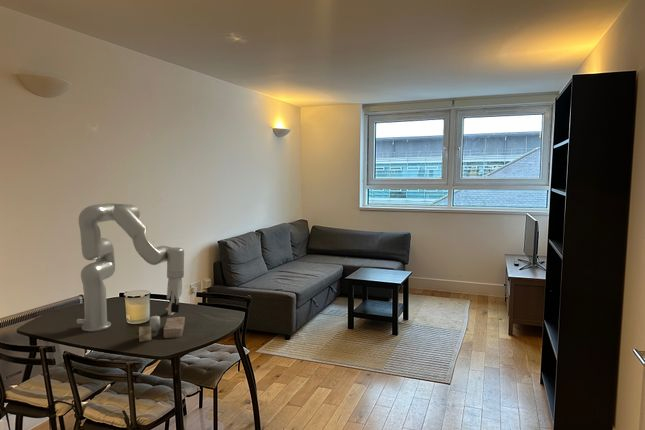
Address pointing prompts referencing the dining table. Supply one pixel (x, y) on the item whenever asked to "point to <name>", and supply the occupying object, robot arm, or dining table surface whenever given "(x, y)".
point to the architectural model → (169, 310)
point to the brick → (174, 327)
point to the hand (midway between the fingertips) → (175, 312)
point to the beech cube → (145, 333)
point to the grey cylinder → (155, 323)
